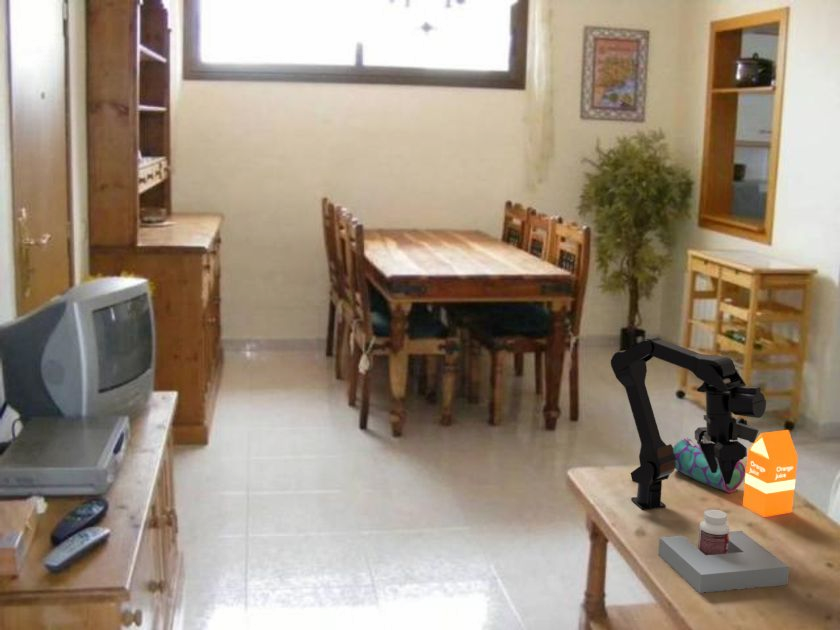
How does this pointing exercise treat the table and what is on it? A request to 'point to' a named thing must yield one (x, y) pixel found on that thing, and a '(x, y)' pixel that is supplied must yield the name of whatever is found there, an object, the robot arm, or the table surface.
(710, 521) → the pill bottle
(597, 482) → the table surface
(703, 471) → the pencil case
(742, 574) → the notched board
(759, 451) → the orange juice
